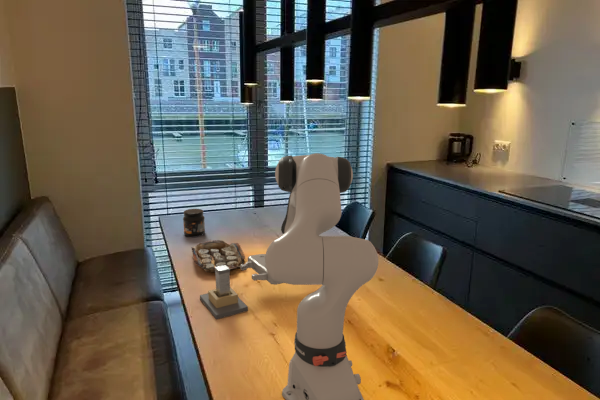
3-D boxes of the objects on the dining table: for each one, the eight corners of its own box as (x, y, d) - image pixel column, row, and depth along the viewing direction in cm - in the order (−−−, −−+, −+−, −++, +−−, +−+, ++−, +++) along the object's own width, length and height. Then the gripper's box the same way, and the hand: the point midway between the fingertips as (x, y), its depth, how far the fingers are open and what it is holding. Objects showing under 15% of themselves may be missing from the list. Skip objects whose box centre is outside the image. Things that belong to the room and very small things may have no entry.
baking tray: (254, 272, 175) (253, 259, 174) (199, 281, 167) (199, 267, 165) (234, 248, 202) (233, 237, 200) (186, 254, 193) (186, 242, 192)
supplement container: (180, 233, 220) (178, 210, 217) (198, 229, 227) (197, 207, 224) (190, 238, 212) (189, 215, 210) (209, 234, 219) (208, 211, 216)
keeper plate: (247, 310, 144) (247, 298, 143) (216, 319, 138) (215, 306, 137) (229, 291, 157) (229, 280, 156) (199, 299, 152) (199, 287, 151)
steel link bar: (230, 301, 147) (229, 268, 144) (220, 304, 145) (218, 271, 142) (226, 297, 150) (225, 264, 147) (216, 299, 148) (214, 267, 145)
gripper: (268, 247, 165) (234, 254, 158) (295, 266, 148) (259, 274, 141) (268, 263, 166) (234, 270, 159) (295, 283, 150) (259, 292, 143)
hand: (246, 272), depth 150 cm, fingers open, 8 cm apart
